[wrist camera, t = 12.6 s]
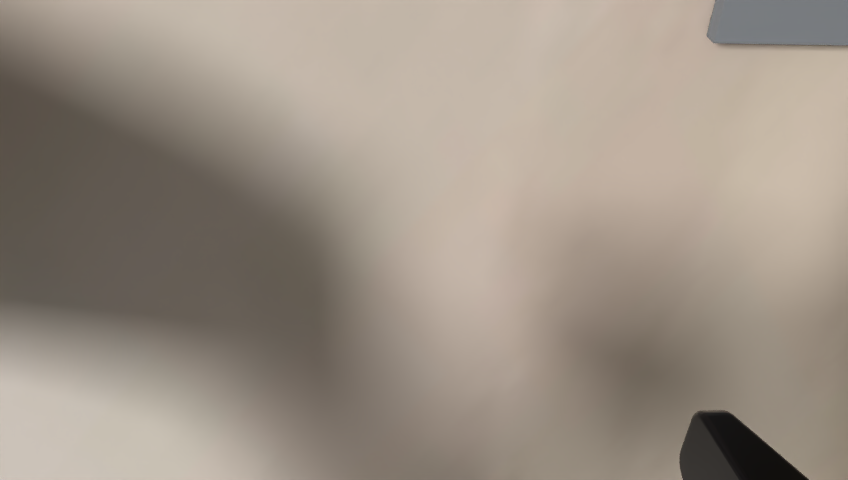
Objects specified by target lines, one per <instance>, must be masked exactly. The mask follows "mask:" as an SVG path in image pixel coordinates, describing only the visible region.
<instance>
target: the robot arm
mask: <svg viewBox="0 0 848 480" xmlns="http://www.w3.org/2000/svg"><path fill="white" fill-rule="evenodd" d="M680 470H681V474H682V478H683V480H809V479H808V478H807V477H805V476H804V475H803V474H802V473H801V472H799V471H798V470H797V469H796V468H795V467H794V466H792V465H791V464H790V463H789V462H788V461H787V460H785V459H784V458H783V457H782V456H781V455H780V454H778V453H777V452H776V451H775V450H774V449H773V448H771V447H770V446H769V445H768V444H767V443H766V442H764V441H763V440H762V439H761V438H760V437H759V436H757V435H756V434H755V433H754V432H753V431H751V430H750V429H749V428H748V427H747V426H746V425H744V424H743V423H742V422H741V421H740V420H739V419H737V418H736V417H735V416H734V415H733V414H731V413H729V412H727V411H723V410H713V411H698V412H697V413H695V414H694V415H693V417H692V420H691V423H690V425H689V428H688V431H687V434H686V437H685V440H684V442H683V445H682V448H681V452H680Z"/></svg>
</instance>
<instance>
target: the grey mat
mask: <svg viewBox="0 0 848 480" xmlns="http://www.w3.org/2000/svg"><path fill="white" fill-rule="evenodd" d="M707 37H708V38H709V39H710V40H711V41H712V42H713V43H734V44H793V45H848V0H716V1H715V5H714V9H713V12H712V16H711V20H710V24H709V28H708V32H707Z"/></svg>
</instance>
